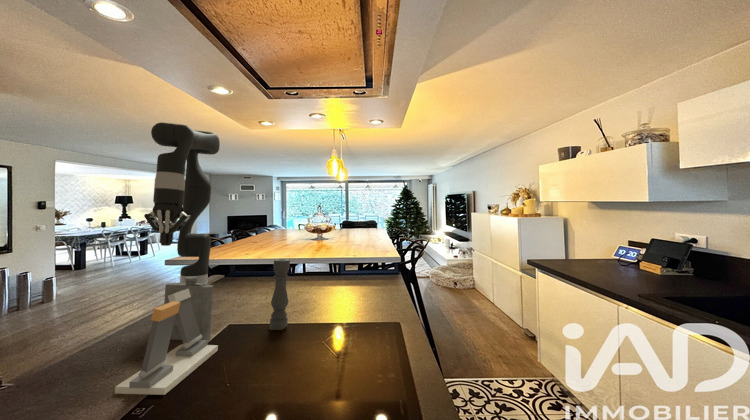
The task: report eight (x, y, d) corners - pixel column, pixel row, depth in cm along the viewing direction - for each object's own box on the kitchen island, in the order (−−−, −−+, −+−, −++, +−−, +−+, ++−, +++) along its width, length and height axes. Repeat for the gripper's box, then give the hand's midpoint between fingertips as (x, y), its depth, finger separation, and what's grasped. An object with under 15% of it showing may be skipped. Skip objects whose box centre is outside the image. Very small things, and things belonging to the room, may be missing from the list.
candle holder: (268, 331, 101) (272, 261, 102) (270, 325, 107) (273, 258, 108) (286, 330, 102) (290, 261, 104) (287, 324, 108) (290, 258, 110)
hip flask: (159, 339, 91) (163, 276, 92) (169, 334, 95) (173, 274, 96) (205, 342, 90) (209, 279, 91) (213, 337, 94) (217, 277, 95)
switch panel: (113, 394, 63) (114, 381, 63) (181, 348, 85) (182, 339, 85) (163, 395, 63) (164, 382, 63) (218, 350, 85) (218, 340, 85)
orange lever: (137, 377, 63) (153, 308, 64) (158, 363, 70) (173, 301, 71) (145, 379, 63) (161, 310, 64) (165, 365, 70) (180, 302, 71)
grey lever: (183, 349, 78) (167, 295, 79) (197, 340, 85) (182, 290, 85) (189, 347, 78) (173, 293, 79) (203, 338, 85) (188, 288, 85)
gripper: (199, 190, 90) (195, 245, 89) (157, 189, 90) (153, 243, 89) (183, 187, 82) (179, 247, 82) (137, 186, 82) (133, 245, 81)
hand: (165, 245), depth 85 cm, fingers closed
